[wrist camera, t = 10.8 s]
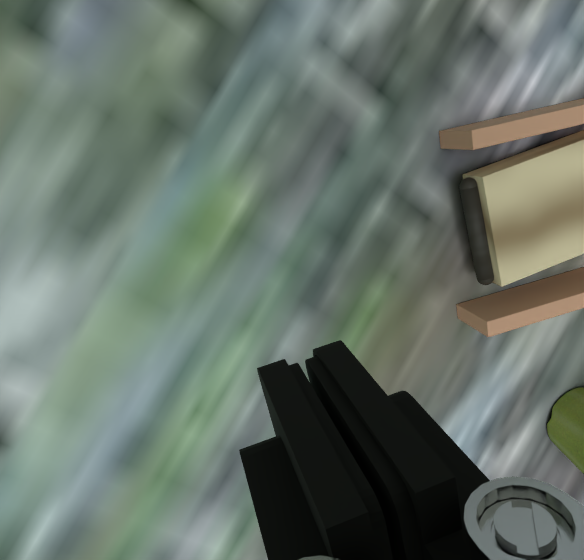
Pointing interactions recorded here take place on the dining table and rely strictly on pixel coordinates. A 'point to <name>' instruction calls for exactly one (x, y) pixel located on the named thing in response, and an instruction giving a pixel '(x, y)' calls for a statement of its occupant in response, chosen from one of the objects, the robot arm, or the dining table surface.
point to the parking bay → (539, 294)
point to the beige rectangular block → (526, 211)
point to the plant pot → (569, 426)
